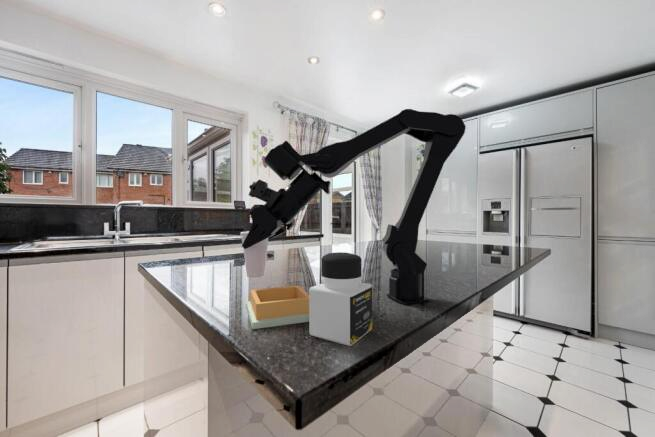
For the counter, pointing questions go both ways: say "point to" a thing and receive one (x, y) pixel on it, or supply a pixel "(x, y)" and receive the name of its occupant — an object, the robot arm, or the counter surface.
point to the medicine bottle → (340, 301)
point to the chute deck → (278, 306)
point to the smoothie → (255, 257)
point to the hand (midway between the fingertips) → (249, 245)
